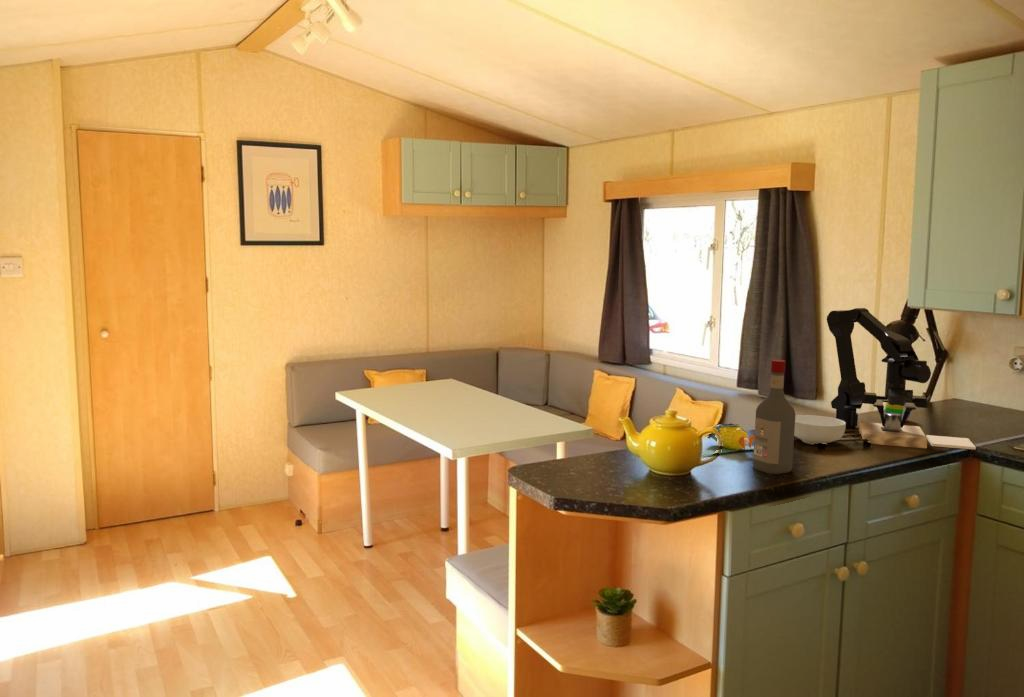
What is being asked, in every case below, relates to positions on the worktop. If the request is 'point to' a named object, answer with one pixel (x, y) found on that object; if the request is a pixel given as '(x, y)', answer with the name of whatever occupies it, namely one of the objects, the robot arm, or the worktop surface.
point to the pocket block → (893, 435)
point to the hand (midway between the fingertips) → (892, 426)
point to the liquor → (774, 427)
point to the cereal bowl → (818, 429)
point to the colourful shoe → (731, 439)
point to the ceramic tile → (950, 442)
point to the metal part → (892, 422)
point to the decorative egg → (894, 409)
